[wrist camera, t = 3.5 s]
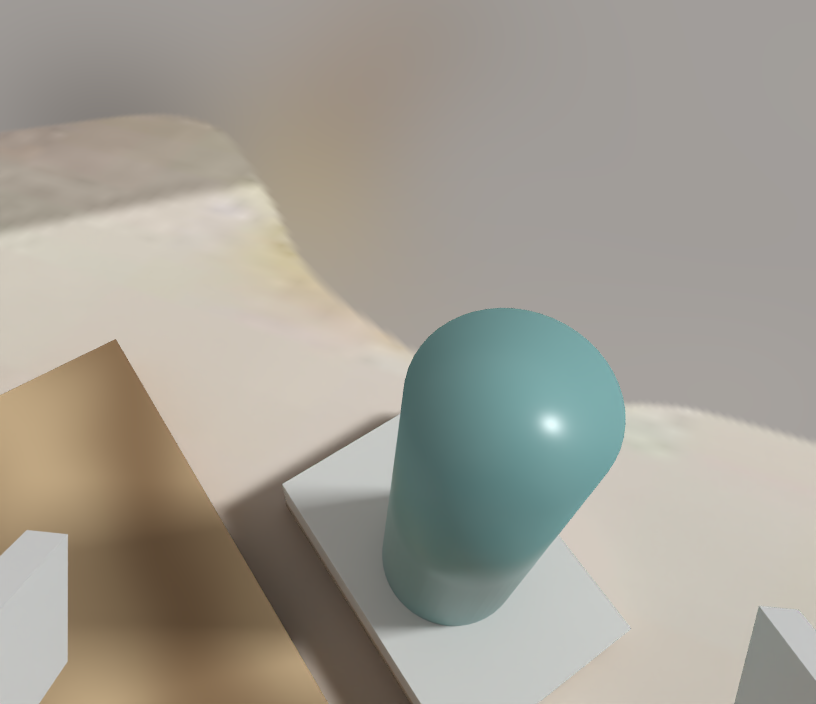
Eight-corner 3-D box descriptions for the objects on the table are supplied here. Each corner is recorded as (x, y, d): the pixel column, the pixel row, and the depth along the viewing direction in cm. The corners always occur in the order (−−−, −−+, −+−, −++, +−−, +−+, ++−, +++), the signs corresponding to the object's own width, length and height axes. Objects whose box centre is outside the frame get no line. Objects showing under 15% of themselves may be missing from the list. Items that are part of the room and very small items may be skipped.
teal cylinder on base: (438, 414, 27) (493, 173, 17) (610, 641, 24) (815, 516, 13) (286, 505, 25) (242, 298, 15) (450, 768, 22) (544, 738, 11)
